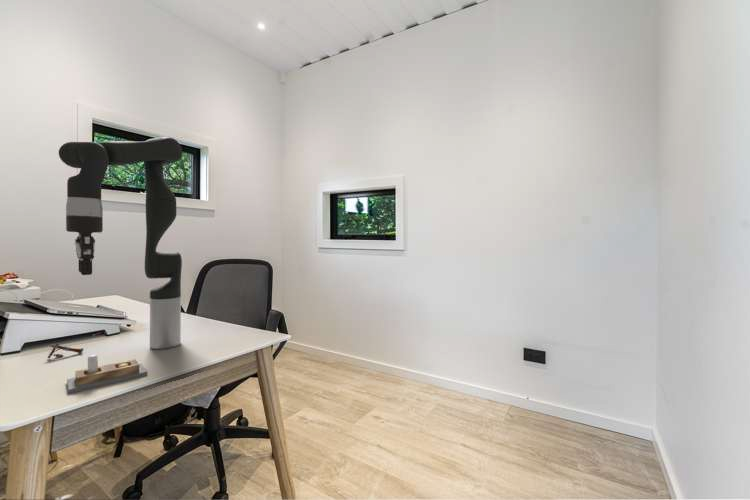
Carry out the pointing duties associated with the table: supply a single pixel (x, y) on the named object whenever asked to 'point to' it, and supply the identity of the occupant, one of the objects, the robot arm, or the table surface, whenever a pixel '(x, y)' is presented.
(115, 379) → the base
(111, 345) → the table surface
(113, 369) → the holed bar
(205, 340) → the table surface
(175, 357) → the table surface
